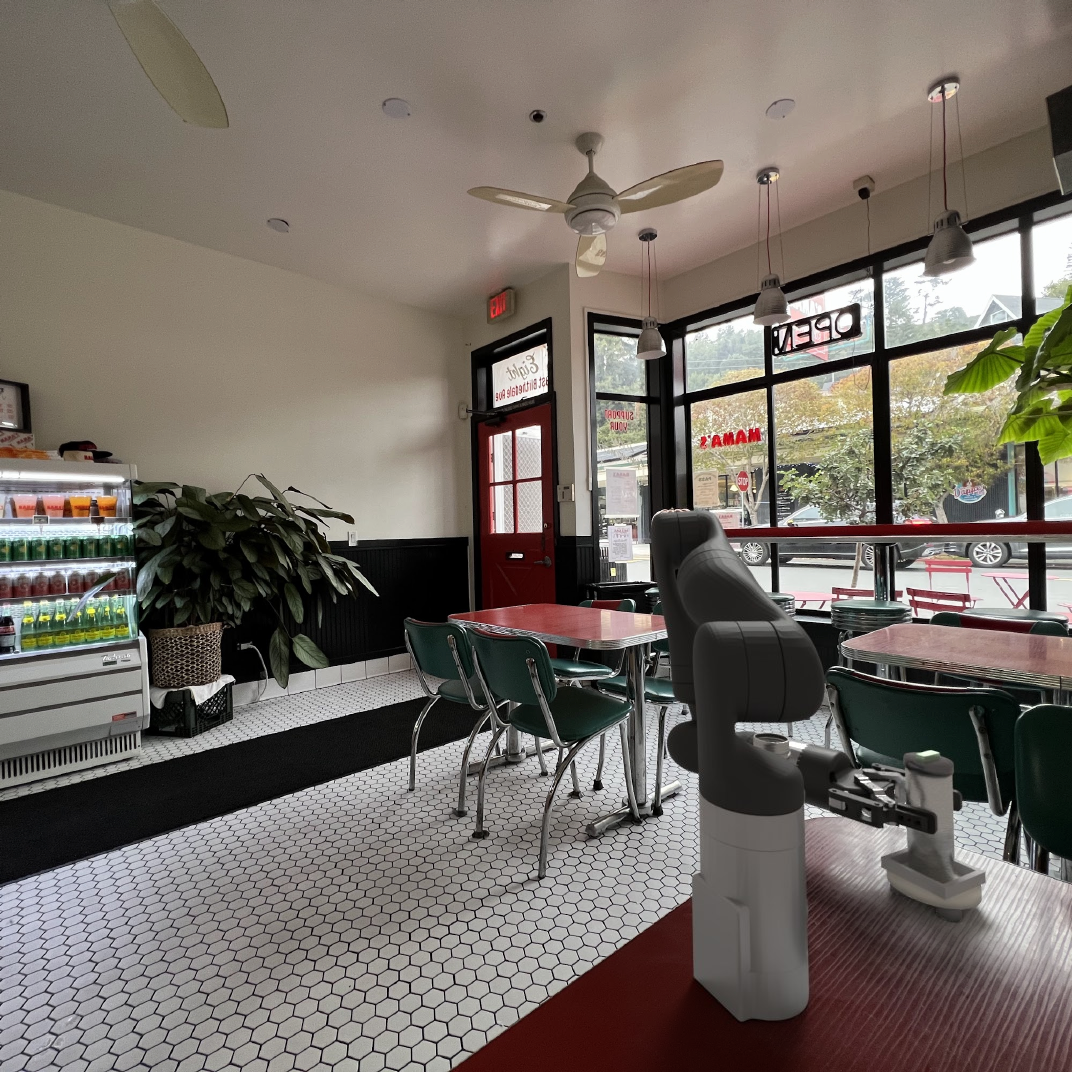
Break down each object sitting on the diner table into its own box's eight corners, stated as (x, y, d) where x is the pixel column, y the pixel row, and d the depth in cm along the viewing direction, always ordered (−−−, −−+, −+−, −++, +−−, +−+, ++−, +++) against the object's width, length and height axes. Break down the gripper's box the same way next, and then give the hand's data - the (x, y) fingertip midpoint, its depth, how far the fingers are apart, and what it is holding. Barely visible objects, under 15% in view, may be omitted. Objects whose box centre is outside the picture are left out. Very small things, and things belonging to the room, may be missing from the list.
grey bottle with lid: (939, 890, 65) (936, 763, 65) (897, 869, 69) (893, 750, 69) (966, 880, 67) (962, 756, 67) (923, 860, 71) (920, 744, 71)
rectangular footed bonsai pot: (950, 933, 62) (949, 894, 62) (869, 888, 70) (868, 855, 70) (1000, 909, 66) (999, 873, 66) (918, 870, 74) (917, 838, 74)
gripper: (778, 756, 75) (926, 796, 62) (829, 732, 84) (967, 763, 71) (779, 817, 74) (928, 869, 62) (830, 786, 84) (969, 827, 71)
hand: (949, 812), depth 67 cm, fingers open, 8 cm apart
